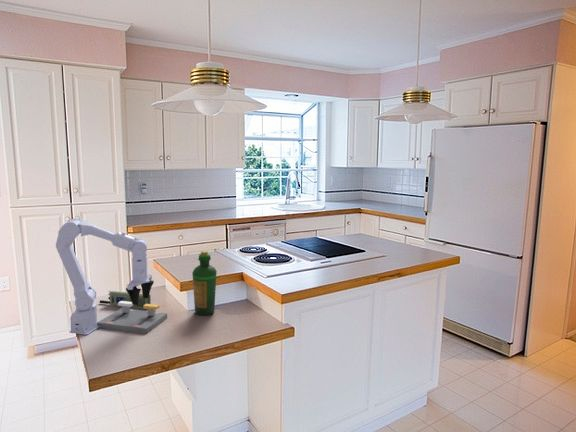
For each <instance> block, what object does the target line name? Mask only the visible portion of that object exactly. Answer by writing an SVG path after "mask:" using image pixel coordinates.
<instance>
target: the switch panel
mask: <svg viewBox="0 0 576 432" xmlns="http://www.w3.org/2000/svg"><path fill="white" fill-rule="evenodd" d="M167 319H168V313H166V312H159V311H158V312H157V311H155V315H154V316H149V315H148V310H143V309H134V308H130V312H128V313H123V312H122V307H120V308H118V309H117V310H116V311H114V312H112V313H110V314H109V315H107V316H105V317H104V318H103V319H100V321H97V326H100V327H99V328H100V329H108V330H117V331H125V332H133V333H138V334H148V333H149V332H151V331H152V330H153V329H155V328H156V327H157V326H159V325H160V324H161V323H162V322H164V321H165V320H167Z"/></svg>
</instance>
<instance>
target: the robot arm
mask: <svg viewBox="0 0 576 432" xmlns="http://www.w3.org/2000/svg"><path fill="white" fill-rule="evenodd" d="M79 235H80V237H84V236H89V235H90V236H91V235H92V236H93V237H94V236H95V237H96V238H100V239H102V240H106V241H110V242H111V244H112V246H113V247H117V248H119V249H121V250H124V251H127V252H131V253H132V258H131V266H132V267H131V268H132V270H131V271H132V273H131V274H132V279H131V281H130V282H129V283H128V284H127V286H126V287H125V290H126V291H125V292H127V293H128V294H129V296H130V298H131V301H132V304H133V305H138V301H139V294H143V298H149V295H151V294H150V293H151V289H152V287H153V285H154V282H155V281H154V280H152V279H153V275H152V274H148V258H147V255H148V253H147V250H148V249H147V248H148V245H147V242H146V240H144V239H143V238H138V237H136V236H135V237H134V236H130V235H128V234H127V232H125V231H122V232H120V231H119V232H115V233H114V232H112V231H109V230H107V229H105V228H102V227H99V226H97V225H95V224H93V223H90V222H88V221H85V220H80V219H79V218H71V219H69V220H68V221H67V222H65V223H64V224H63V225H62V226H61V227H60V228H59V230H58V232H57V238H56V242H55V248H56V251H57V253H58V255H59V257H60V260H61V262H62V264H63V267H64V269H65V271H66V273H67V276H68V278H69V280H70V283H71V285H72V287H73V295H74V298H75V301H74V305H75V311H73V313H71V316H70V321H69V322H70V330H69V331H68V332H69V333H70V334H75V335H76V334H78V335H85V336H87V335H89V334H90V333H92V332H94V331H95V330H97V329H98V328H100V326H97V322H98V311H97V310H98V309H97V308H98V307H97V303H96V302H95V299H96V298H97V291H96V290H95V289H94V288H93V287H92V286H91V284H90V282H88V281H87V279H86V276H85V274H84V272H83V269H82V267H81V265H80V262H79V260H78V258H77V256H76V252H75V251H74V249H73V243H74V242H75V240H76V238H78V236H79ZM138 286H140V287H141V288H138ZM141 291H142V292H141Z"/></svg>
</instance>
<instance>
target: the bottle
mask: <svg viewBox="0 0 576 432" xmlns="http://www.w3.org/2000/svg"><path fill="white" fill-rule="evenodd" d="M197 260H198V262H199V265H197V266H196V267H195V268H194V269H193V271H192V288H193V303H194V312H195V314H197V315H199V316H208V315H213V313H215V308H216V307H215V306H216V304H215V303H216V287H217V273H218V272H217V270H216V268H215V267H214V266H212V265H210V261H211V260H212V259H211V254H210V253H209V251H208V250H201V251H200V253H199V254H198V259H197Z"/></svg>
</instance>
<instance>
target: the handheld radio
mask: <svg viewBox="0 0 576 432" xmlns="http://www.w3.org/2000/svg"><path fill="white" fill-rule="evenodd" d="M107 295H108V298H107V299H108V300H104V299H103V300H102V299H100V300H99V304H107V305H109V306H111V307H119V308H122V306H118V302H120V301H127V302H132V301H131V298H130V296H129V294H128V292H127V291H125V292H124V291H117V290H116V291H115V290H114V291H113V290H112V291H111V290H108V294H107ZM151 302H152V301H151V294H149V298H143V294H142V293H139V301H138V305H133V306H131V307H130V309H136V310H146V309H145V308H143V305H145V304H152V303H151Z"/></svg>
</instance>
